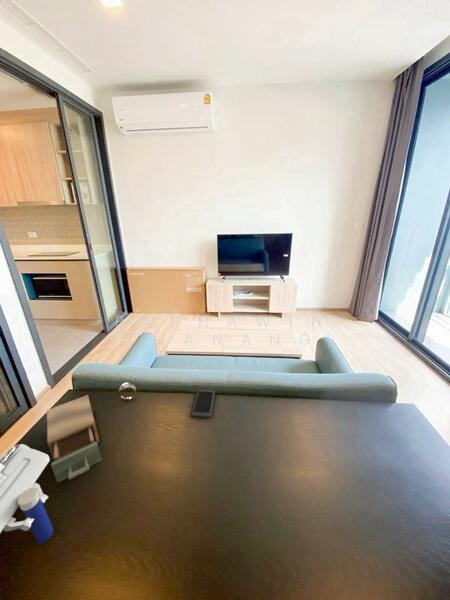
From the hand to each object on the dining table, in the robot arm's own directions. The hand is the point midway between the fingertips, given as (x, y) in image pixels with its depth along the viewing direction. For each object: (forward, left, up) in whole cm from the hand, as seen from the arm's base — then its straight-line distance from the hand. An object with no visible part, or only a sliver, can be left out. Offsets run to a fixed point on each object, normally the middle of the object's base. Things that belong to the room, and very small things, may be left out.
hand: (38, 513), depth 55 cm
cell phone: (+52, +15, -9) cm, 55 cm away
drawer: (+8, +18, -9) cm, 22 cm away
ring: (+28, +35, -10) cm, 46 cm away
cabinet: (+8, +29, -9) cm, 32 cm away
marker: (-1, 0, -8) cm, 8 cm away
